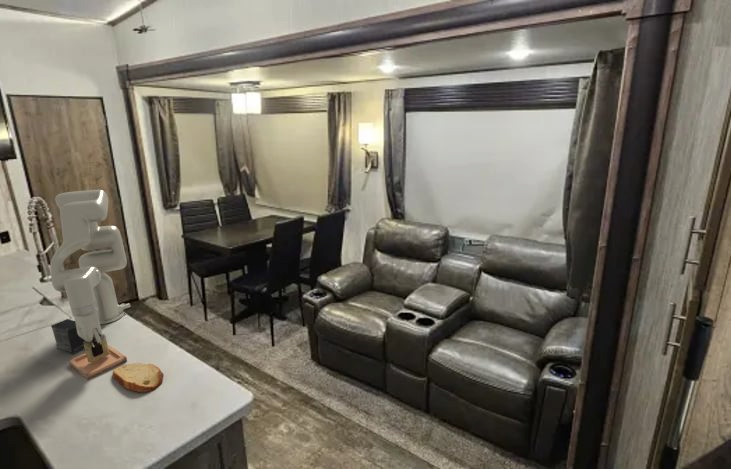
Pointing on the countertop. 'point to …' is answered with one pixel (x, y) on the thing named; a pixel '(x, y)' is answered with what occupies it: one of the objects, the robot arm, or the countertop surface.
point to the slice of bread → (138, 377)
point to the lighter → (89, 351)
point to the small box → (67, 336)
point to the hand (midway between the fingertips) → (96, 352)
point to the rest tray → (97, 363)
